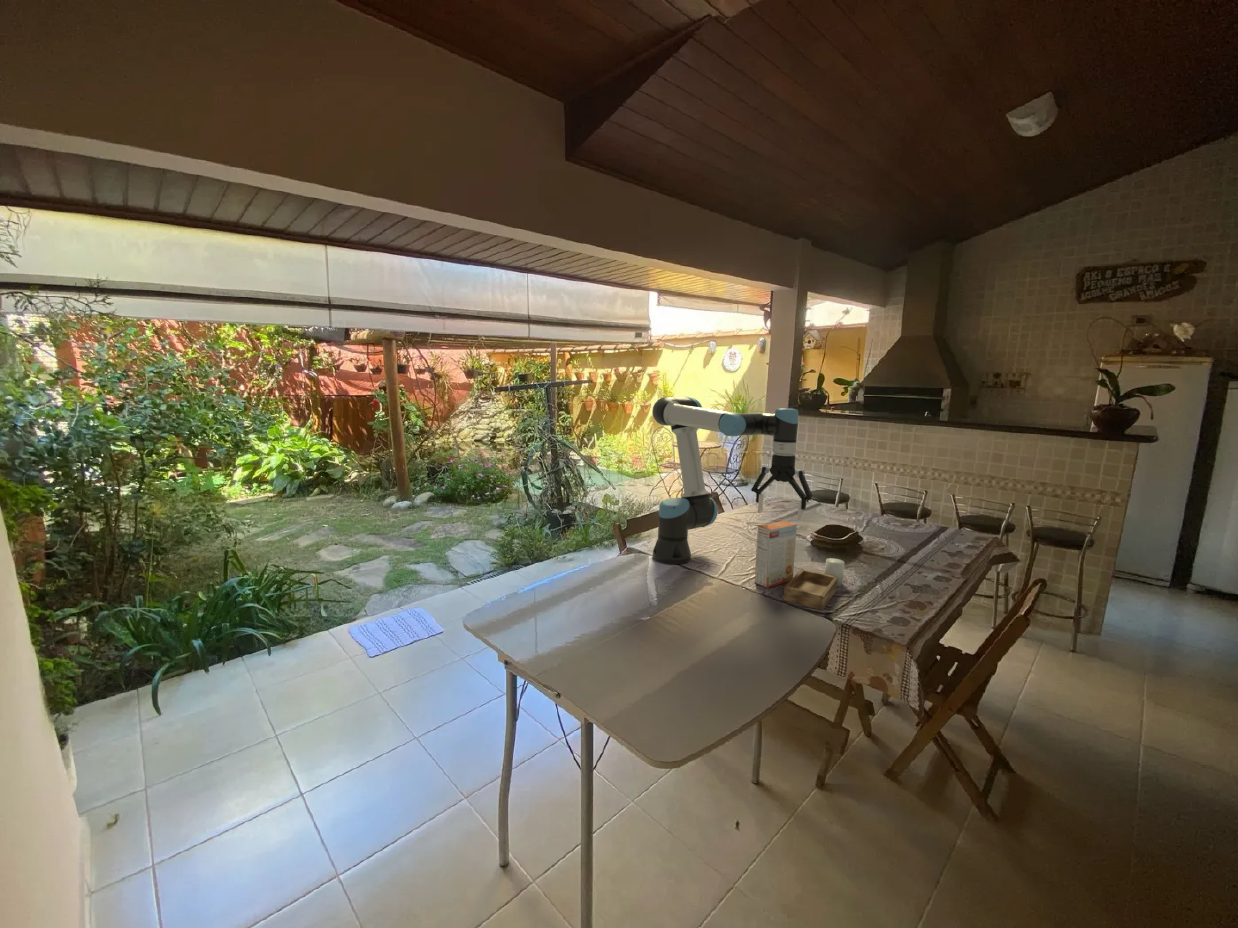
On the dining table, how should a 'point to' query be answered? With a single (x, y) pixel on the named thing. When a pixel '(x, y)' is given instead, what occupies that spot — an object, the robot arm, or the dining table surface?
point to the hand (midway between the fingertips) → (779, 515)
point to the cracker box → (775, 553)
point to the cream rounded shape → (835, 569)
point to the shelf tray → (810, 589)
